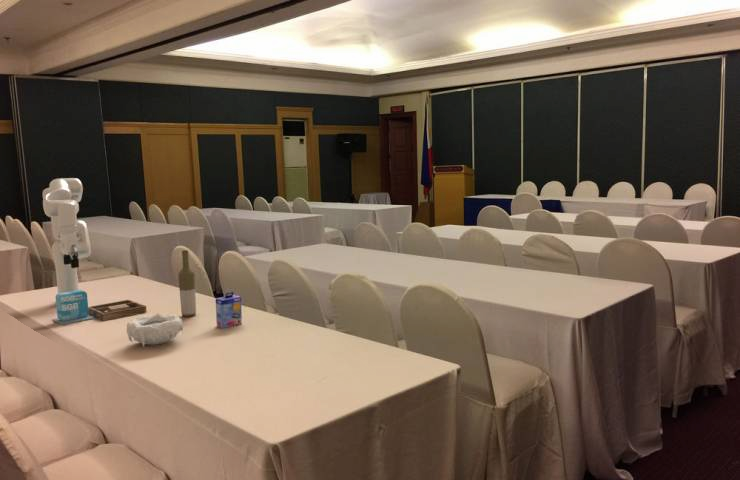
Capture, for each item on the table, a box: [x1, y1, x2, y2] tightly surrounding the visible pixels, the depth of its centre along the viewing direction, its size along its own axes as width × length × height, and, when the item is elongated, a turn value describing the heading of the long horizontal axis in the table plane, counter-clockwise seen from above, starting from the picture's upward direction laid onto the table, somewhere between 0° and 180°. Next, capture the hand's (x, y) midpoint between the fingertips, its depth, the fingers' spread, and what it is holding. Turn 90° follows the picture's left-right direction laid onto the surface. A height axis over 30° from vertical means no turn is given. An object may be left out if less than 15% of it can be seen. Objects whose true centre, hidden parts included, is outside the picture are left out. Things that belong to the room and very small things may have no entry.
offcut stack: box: [104, 304, 129, 313], centre depth 273 cm, size 7×10×4 cm
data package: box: [55, 289, 90, 321], centre depth 265 cm, size 12×4×12 cm, turn 135°
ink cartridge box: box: [215, 291, 243, 329], centre depth 250 cm, size 10×6×14 cm, turn 136°
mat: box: [51, 314, 96, 326], centre depth 265 cm, size 12×14×1 cm
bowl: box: [126, 313, 184, 348], centre depth 227 cm, size 21×20×10 cm
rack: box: [88, 299, 148, 321], centre depth 276 cm, size 19×20×3 cm
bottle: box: [177, 249, 197, 318], centre depth 266 cm, size 7×7×30 cm
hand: (71, 265), depth 270 cm, fingers open, 9 cm apart
